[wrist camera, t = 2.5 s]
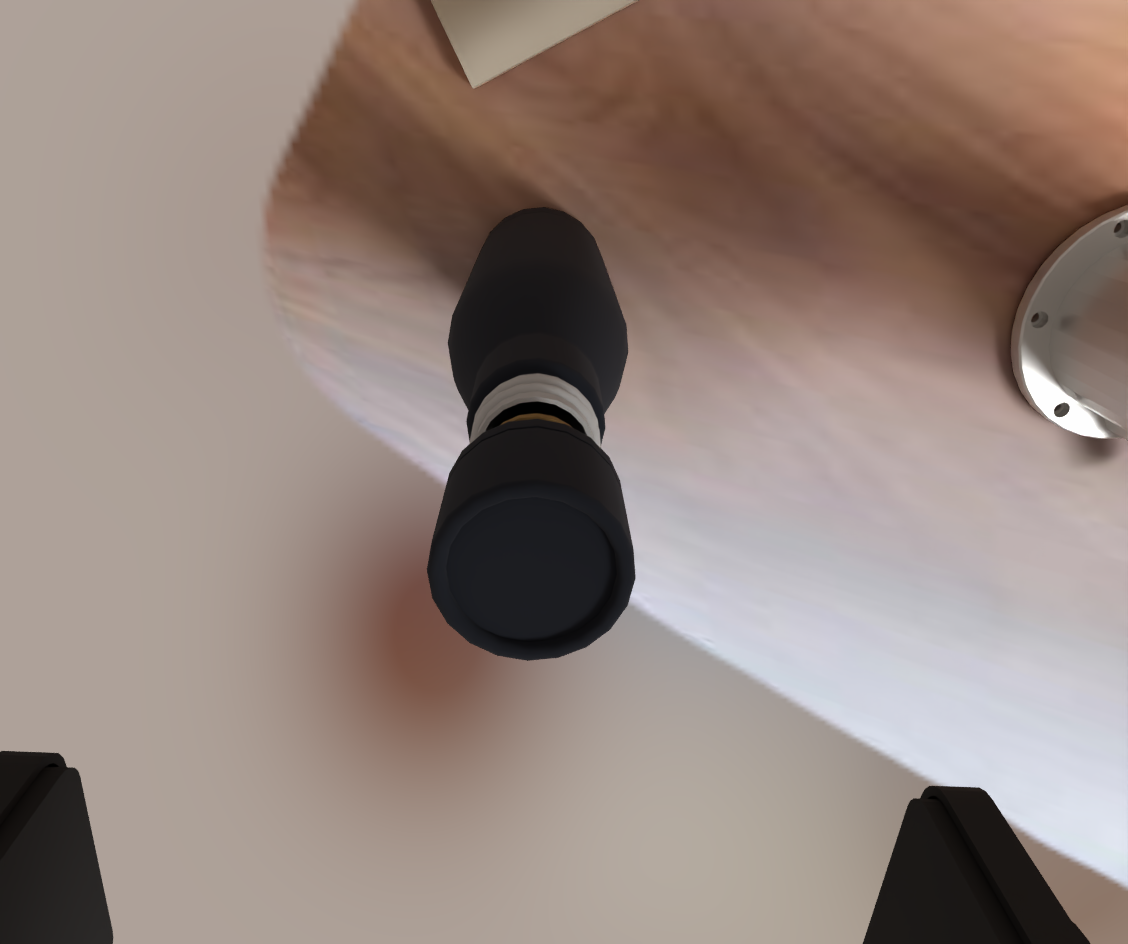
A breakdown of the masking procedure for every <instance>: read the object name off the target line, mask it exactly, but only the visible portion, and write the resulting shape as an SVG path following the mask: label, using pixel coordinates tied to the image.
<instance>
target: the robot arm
mask: <svg viewBox="0 0 1128 944" xmlns="http://www.w3.org/2000/svg"><path fill="white" fill-rule="evenodd" d="M1115 226H1116V227H1115ZM1114 228H1115V229H1114ZM1033 315H1034V317H1033ZM1032 317H1033V319H1032ZM1011 359H1012V366H1013V373H1014V376H1015V378H1016V381H1017V383H1018V386H1019V388H1020V391H1021V392H1022V394H1023V395H1024V397H1025V398H1026V399H1027V401H1028V402H1029V404H1030V405H1031V406H1032V407H1033V408H1034V409H1035V410H1036V411H1037V412H1038V413H1040V414H1041V415H1042V416H1043V417H1044V418H1045V419H1047V420H1049V421H1050V422H1052V423H1054V424H1055V425H1057V426H1059V427H1060V428H1062V429H1064V430H1067V431H1069V432H1072V433H1075V434H1077V435H1080V436H1086V437H1092V438H1098V439H1113V438H1124V439H1125V440H1127V441H1128V205H1125V206H1123V207H1120V208H1118V209H1115V210H1113V211H1110V212H1108V213H1105V214H1103V215H1101V216H1100V217H1098V218H1096V219H1095V220H1093V221H1091V222H1090V223H1088V224H1086V225H1085V226H1083V227H1081V228H1080V229H1078V230H1077V231H1076V232H1075V233H1074V234H1072V235H1071V236H1070V237H1069V238H1068V239H1066V240H1065V241H1064V242H1063V243H1062V244H1060V245H1059V246H1058V247H1057V248H1056V250H1055V251H1054V252H1053V253H1052V254H1051V255H1050V256H1049V257H1048V258H1047V260H1046V261H1045V262H1044V263H1043V264H1042V265H1041V267H1040V268H1039V270H1038V271H1037V273H1036V274H1035V276H1034V277H1033V279H1032V280H1031V282H1030V284H1029V285H1028V287H1027V289H1026V291H1025V293H1024V296H1023V298H1022V300H1021V302H1020V305H1019V307H1018V309H1017V313H1016V317H1015V321H1014V325H1013V329H1012V337H1011ZM0 944H113V931H112V927H111V921H110V917H109V912H108V907H107V903H106V898H105V893H104V888H103V883H102V879H101V874H100V869H99V864H98V859H97V855H96V850H95V845H94V840H93V836H92V831H91V826H90V821H89V817H88V812H87V807H86V802H85V798H84V793H83V788H82V783H81V778H80V775H79V772H78V771H77V770H76V769H75V768H68V767H66V764H65V761H64V758H63V757H62V756H61V755H60V754H59V753H42V752H15V751H1V752H0ZM863 944H1090V942H1089V941H1088V940H1087V938H1086V937H1085V936H1084V934H1083V933H1082V932H1081V931H1080V929H1079V928H1078V927H1077V926H1076V924H1074V923H1073V922H1072V921H1071V920H1070V918H1069V917H1068V915H1067V914H1066V912H1065V910H1064V909H1063V907H1062V906H1061V904H1060V903H1059V901H1058V900H1057V898H1056V897H1055V895H1054V894H1053V892H1052V891H1051V889H1050V887H1049V886H1048V884H1047V883H1046V881H1045V880H1044V878H1043V877H1042V875H1041V874H1040V872H1039V870H1038V869H1037V867H1036V866H1035V865H1034V863H1033V861H1032V860H1031V858H1030V857H1029V855H1028V854H1027V852H1026V851H1025V849H1024V847H1023V846H1022V844H1021V843H1020V841H1019V840H1018V838H1017V837H1016V835H1015V834H1014V832H1013V831H1012V829H1011V827H1010V826H1009V824H1008V823H1007V821H1006V820H1005V818H1004V817H1003V815H1002V814H1001V812H1000V810H999V809H998V807H997V806H996V804H995V803H994V801H993V800H992V798H991V797H990V796H989V795H988V794H987V792H986V791H984V790H982V789H981V788H975V787H948V786H929V787H928V788H926V789H925V790H924V792H923V794H922V796H921V798H920V799H913V800H911V801H910V803H909V805H908V806H907V810H906V813H905V816H904V819H903V822H902V825H901V828H900V831H899V835H898V837H897V841H896V844H895V847H894V849H893V853H892V856H891V859H890V862H889V865H888V868H887V871H886V874H885V878H884V880H883V883H882V886H881V890H880V892H879V896H878V899H877V902H876V905H875V908H874V911H873V914H872V917H871V921H870V923H869V926H868V929H867V932H866V936H865V939H864V942H863Z"/></svg>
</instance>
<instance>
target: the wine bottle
mask: <svg viewBox="0 0 1128 944" xmlns="http://www.w3.org/2000/svg"><path fill="white" fill-rule="evenodd" d="M448 347H449V353H450V359H451V365H452V371H453V377H454V381H455V384H456V386H457V389H458V391H459V393H460V395H461V397H462V399H463V401H464V403H465V405H466V406H467V408H468V410H469V411H468V416H467V427H468V434H469V440H470V444H469V445H468V446H467V447H466V448H465V449H464V450H463V451H462V452H461V454H460V456H459V457H458V459H457V461H456V463H455V464H454V466H453V468H452V470H451V471H450V473H449V477H448V481H447V485H446V489H445V492H444V496H443V501H442V504H441V508H440V512H439V516H438V519H437V523H436V528H435V531H434V535H433V539H432V544H431V549H430V555H429V561H428V566H427V573H428V578H429V583H430V588H431V593H432V598H433V600H434V602H435V603H436V605H437V607H438V608H439V610H440V612H441V613H442V615H443V617H444V618H445V620H446V622H447V623H448V624H449V625H450V626H451V627H452V628H453V629H455V630H456V631H457V632H458V633H459V634H460V635H461V636H463V637H464V638H465V639H466V640H467V641H468V642H469V643H471V644H474V645H476V646H478V647H480V648H482V649H484V650H486V651H489V652H491V653H493V654H495V655H497V656H503V657H509V658H515V659H522V660H527V661H528V660H539V659H548V658H558V657H561V656H564V655H567V654H569V653H572V652H574V651H577V650H580V649H582V648H585V647H587V646H588V645H590V644H591V643H592V642H594V641H595V640H597V639H598V638H599V637H601V636H602V635H603V634H605V633H606V632H607V631H609V630H610V629H611V627H612V626H613V625H614V623H615V622H616V621H617V619H618V618H619V617H620V615H621V614H622V612H623V611H624V610H625V608H626V607H627V605H628V602H629V598H630V595H631V591H632V588H633V585H634V581H635V565H634V552H633V545H632V540H631V535H630V530H629V525H628V520H627V514H626V509H625V504H624V499H623V494H622V490H621V484H620V480H619V478H618V475H617V473H616V471H615V469H614V466H613V464H612V462H611V460H610V458H609V456H608V455H607V454H606V453H605V452H604V451H603V450H602V449H601V443H602V439H603V435H604V431H605V418H604V414H605V412H606V410H607V409H608V407H609V406H610V404H611V403H612V401H613V400H614V398H615V396H616V394H617V392H618V389H619V386H620V383H621V379H622V375H623V371H624V367H625V363H626V359H627V355H628V342H627V327H626V322H625V320H624V317H623V314H622V311H621V309H620V306H619V303H618V300H617V297H616V295H615V292H614V289H613V286H612V284H611V281H610V278H609V275H608V273H607V270H606V267H605V264H604V262H603V259H602V256H601V254H600V251H599V249H598V246H597V244H596V241H595V239H594V237H593V236H592V235H591V234H590V232H589V231H588V230H587V229H586V228H585V227H584V225H583V224H582V223H581V222H580V221H578V220H576V219H575V218H573V217H571V216H570V215H568V214H567V213H565V212H563V211H558V210H554V209H549V208H545V207H541V208H531V209H523V210H521V211H519V212H517V213H515V214H512V215H510V216H508V217H506V218H505V219H504V220H502V221H501V222H500V223H499V224H498V225H497V226H496V227H495V228H494V229H493V230H492V231H491V232H490V234H489V236H488V238H487V240H486V241H485V243H484V245H483V247H482V249H481V251H480V253H479V256H478V258H477V260H476V263H475V265H474V267H473V269H472V272H471V274H470V276H469V279H468V281H467V283H466V286H465V288H464V290H463V292H462V295H461V297H460V299H459V302H458V304H457V306H456V308H455V311H454V313H453V315H452V321H451V327H450V333H449V339H448Z"/></svg>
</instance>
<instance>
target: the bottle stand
mask: <svg viewBox="0 0 1128 944" xmlns="http://www.w3.org/2000/svg"><path fill="white" fill-rule="evenodd" d="M637 1H639V0H431V2H432V4H433V7H434V9H435V11H436V13H437V15H438V17H439V19H440V21H441V23H442V25H443V27H444V30H445V32H446V34H447V36H448V38H449V40H450V42H451V44H452V46H453V48H454V51H455V53H456V55H457V57H458V59H459V61H460V63H461V65H462V67H463V69H464V71H465V74H466V76H467V78H468V80H469V82H470V84H471V86H472V88H474V89H475V88H477V87H479V86H481V85H483V84H485V83H486V82H488V81H490V80H492V79H494V78H496V77H498V76H499V75H501V74H503V73H505V72H507V71H509V70H511V69H512V68H514V67H516V66H518V65H520V64H522V63H524V62H525V61H527V60H529V59H531V58H533V57H535V56H537V55H538V54H540V53H542V52H544V51H546V50H548V49H550V48H551V47H553V46H555V45H557V44H559V43H561V42H563V41H564V40H566V39H568V38H570V37H572V36H574V35H576V34H577V33H579V32H581V31H583V30H585V29H587V28H588V27H590V26H592V25H594V24H596V23H598V22H600V21H601V20H603V19H605V18H607V17H609V16H611V15H613V14H614V13H616V12H618V11H620V10H622V9H624V8H626V7H627V6H629V5H631V4H633V3H635V2H637Z"/></svg>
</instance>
